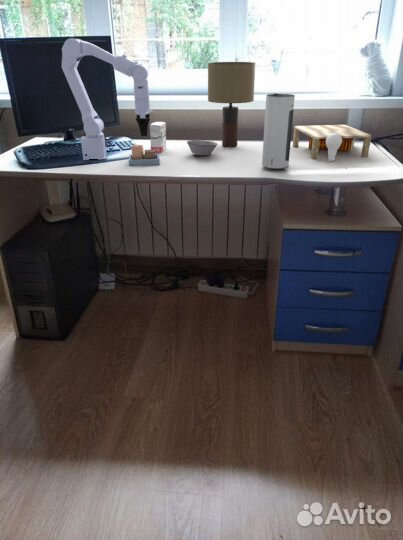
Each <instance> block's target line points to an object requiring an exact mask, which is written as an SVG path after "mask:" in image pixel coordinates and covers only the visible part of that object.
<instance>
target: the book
mask: <svg viewBox="0 0 403 540" xmlns="http://www.w3.org/2000/svg"><path fill="white" fill-rule="evenodd" d="M355 140H356V138H342V143H341V145H340V147H339V148H338V150H343V151H342V152H349V151H350V152H352V150H353V148H354V147H355ZM312 141H313V138H312V137H310V136H309V140H308V149H312ZM353 146H354V147H353ZM318 148H319V149H318V150H325V149H328V148H327V145H326V139H319V146H318ZM351 149H352V150H351Z"/></svg>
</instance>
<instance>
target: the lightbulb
mask: <svg viewBox="0 0 403 540" xmlns="http://www.w3.org/2000/svg"><path fill="white" fill-rule="evenodd" d="M341 143H342V138H341V136H340V135H339V134H337V133H332V134H330V135H329V136H328V137H327V138H326V145H327V148H328V150H327V154H328V155H327V157H328V161H329V162H333V161H335V158H336V155H337V152H338V151H337V150H338V148H339V147H340V145H341Z"/></svg>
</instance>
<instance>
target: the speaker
mask: <svg viewBox="0 0 403 540" xmlns="http://www.w3.org/2000/svg"><path fill="white" fill-rule="evenodd" d="M295 97H296V95H295V94H291V93H278V92H277V93H276V92H274V93H268V94H266V96H265V108H264V109H265V110H264V112H265V113H264V126H263V128H264V129H263V143H262V159H261V160H262V161H261V165H262V167H264V168H267V169H274V170H277V169H278V170H279V169H280V170H281V169H285V168H288V167H289V165H290V156H291V155H290V153H291V145H292V144H291V143H292V142H291V141H292V131H293V120H294V109H295Z"/></svg>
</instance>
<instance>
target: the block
mask: <svg viewBox="0 0 403 540" xmlns="http://www.w3.org/2000/svg"><path fill="white" fill-rule="evenodd" d="M155 154H156V153H155V150H151V149H144V155H145V159H155Z"/></svg>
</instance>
